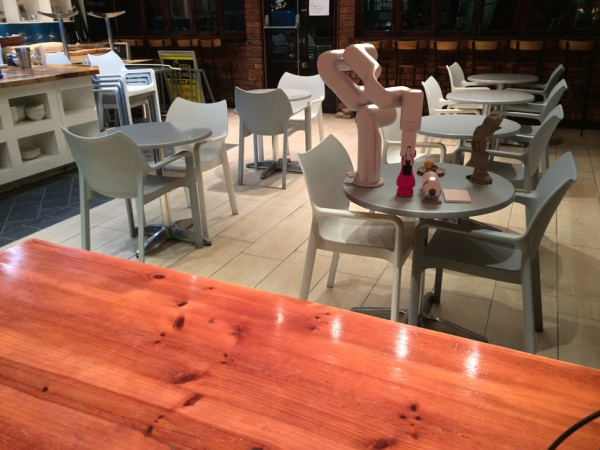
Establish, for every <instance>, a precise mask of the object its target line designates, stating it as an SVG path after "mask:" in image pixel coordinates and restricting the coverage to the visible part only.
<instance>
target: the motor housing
mask: <svg viewBox="0 0 600 450" xmlns="http://www.w3.org/2000/svg"><path fill="white" fill-rule="evenodd" d="M421 185H422V186H421ZM421 185H420V186H419V191H420V201H421V203H422V204H423V203H424V204H440V205H441V204H443V203H442V201H443V200H442V197H441V195H442V194H443V189H442V186H441V183H440V179H439V177H438V175H437V174H436V173H435V172H432V171H428V172H426V173H424V174H423V176H422V175H421Z"/></svg>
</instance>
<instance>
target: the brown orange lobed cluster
mask: <svg viewBox="0 0 600 450" xmlns="http://www.w3.org/2000/svg"><path fill="white" fill-rule="evenodd" d="M428 171H432V172H435V173H436V174H437V175H438V178H439V177H440V178H441V176H442V174H444V173H446V169H445V168H443V167H439V166H438V165H437V164H435V162H434V161H433V160H432V159H426V161H425V162H424V163H423V166H420V167H418V168H417V174H418V173H419V174H421V175H420V176H422V175H423V174H424V173H426V172H428ZM419 174H418V175H419Z"/></svg>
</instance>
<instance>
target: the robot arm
mask: <svg viewBox="0 0 600 450" xmlns="http://www.w3.org/2000/svg"><path fill="white" fill-rule="evenodd" d="M378 57H379V54H378V51H377V48H376V47H375V46H374V45H373V44H371V43H355V44H354V43H353V44H350V45H348V46H347V47H345V49H344V48H342V49H332V50H327V51H324V52H323V53H321V54H320V55H319V56H318V58H317V62H316V67H317V72H318V75H319V77H320V79H321V81H322V82H323V83H324V84H325V85H326V86H327V87H328V88H329V89H330V90H331V91H332V92H333V93H334V94H335V95H336V96H337V98H338V99H339V100H340V101H341V102H342V103H343V104H344V106H345V107H346V108H347V109H348V110H349V111H351V112H356V115H355V123H356V124H355V125H356V129H357V159H356V160H357V166H356V167H357V168H356V171H353V172H351V171H346V174H345V175H346V177H347V178H349V179H353V180H352V182H353V184H354V185H355V186H358V187H362V188H376V187H380V186H383V185H384V183H385V180H384V178H383V177H381V173H382V154H383V153H382V151H383V150H382V146H383V139H382V136H381V133H380V130H379V129H381V128H385V127H389V126H392V125H393V124H394V123H395V122H396V121H397V120H398V119H397V118H398V112H397V109H398V108H400V115H399V117H400V119H399V129H400V130H401V139H400V151H401V153H400V152H399V156H400V158H401V157H402V156H403V157H404V165H403V172H402V175H405V176H411V171H412V165H411V164H412V158H413V157H414V153H415V150H416V147H417V139H418V138H417V136H418V135H417V134H418V131H421V129H422V118H423V108H424V107H423V106H424V97H425V96H424V95H425V94H424V91H423V90H422V89H416V88H409V87H407V86H404V85H403V86H402V85H401V86H400V85H398V86H391V87H384V86H383V85H382V84H381V83H380V82H379V81H378V79H379V77H380V75H381V73H382V66H381V65H380V64H379V62H378V61H377V60H378ZM347 71H352V72H353V73H354V74H355V75H356V76H357V77H358V78H359V79H360V80H361V81H362V82H363V85H358V84H357V83H356V82H354V80H352V79H351V78H350V76H348V75H346V74H345V73H343V72H347ZM412 154H413V155H412ZM406 155H407V157H405V156H406ZM410 155H411V157H410ZM406 158H407V159H406ZM405 162H406V163H405Z"/></svg>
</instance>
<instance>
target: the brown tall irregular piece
mask: <svg viewBox="0 0 600 450" xmlns="http://www.w3.org/2000/svg"><path fill="white" fill-rule="evenodd" d="M503 121H504V117H503V116H502V115H501V116H500V115H498V113H497V112H496V113H495V112H494V113H490V114H488V115H486V117H484V119H483V122H482V123H481V124H480V125H478V126H476V127H475V129H474V131H473V133H472V140H471V141H470V144H471V145H470V146H471V155H472V165H473V170H472V173H471V174H467V175H466V176H465V179H468V180H469V181H473V182H474V183H477V184H480V185H486V184H487V185H488V184H490V183H492V182H493V178H492V177H491V175H490V173H489V171H488V164H489V160H490V153H489V152H488V151H487V150H486V149H487V147H488V146H487V143H488V142H490V139H491V138H492V137H493V135H494V134H495V133H496V131H499V130H502V129H503V127H502V126H501V125H502V123H503Z"/></svg>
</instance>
